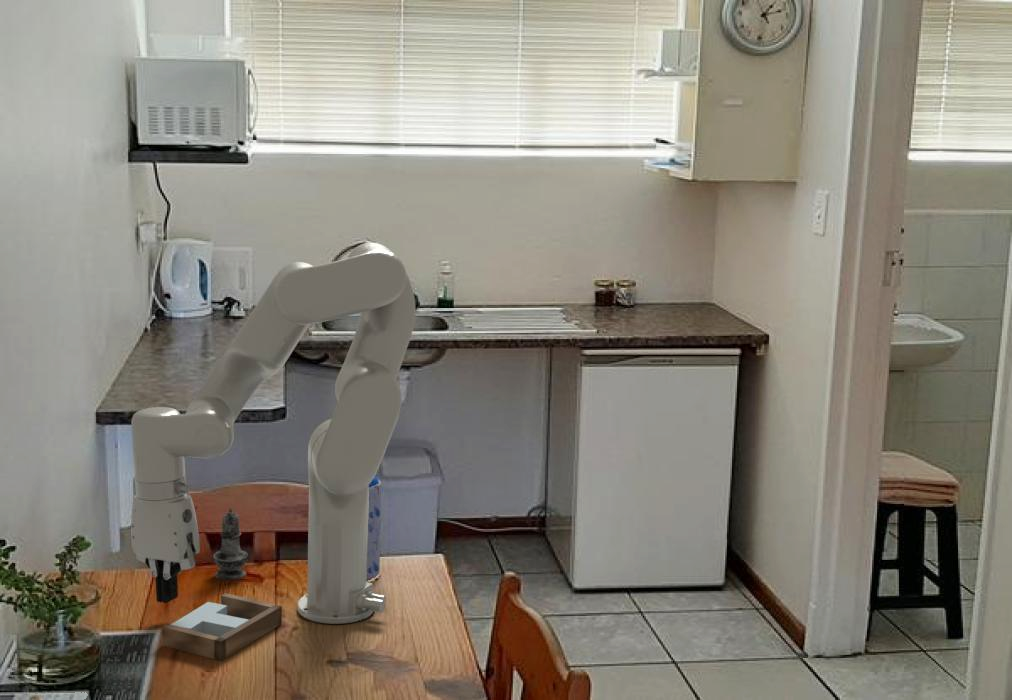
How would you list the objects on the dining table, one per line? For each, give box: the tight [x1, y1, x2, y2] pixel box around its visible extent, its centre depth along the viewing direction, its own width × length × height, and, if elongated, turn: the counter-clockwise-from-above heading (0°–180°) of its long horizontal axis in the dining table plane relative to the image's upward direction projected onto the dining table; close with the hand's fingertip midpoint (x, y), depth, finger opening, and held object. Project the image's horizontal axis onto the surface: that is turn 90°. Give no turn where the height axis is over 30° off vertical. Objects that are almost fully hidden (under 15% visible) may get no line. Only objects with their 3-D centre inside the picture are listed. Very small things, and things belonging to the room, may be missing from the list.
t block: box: [170, 601, 248, 637], centre depth 189 cm, size 10×10×2 cm
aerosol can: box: [367, 475, 383, 581], centre depth 214 cm, size 8×8×20 cm
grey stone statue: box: [212, 507, 249, 581], centre depth 213 cm, size 6×6×12 cm
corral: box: [161, 592, 283, 662], centre depth 189 cm, size 11×15×3 cm
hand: (167, 599), depth 194 cm, fingers closed
